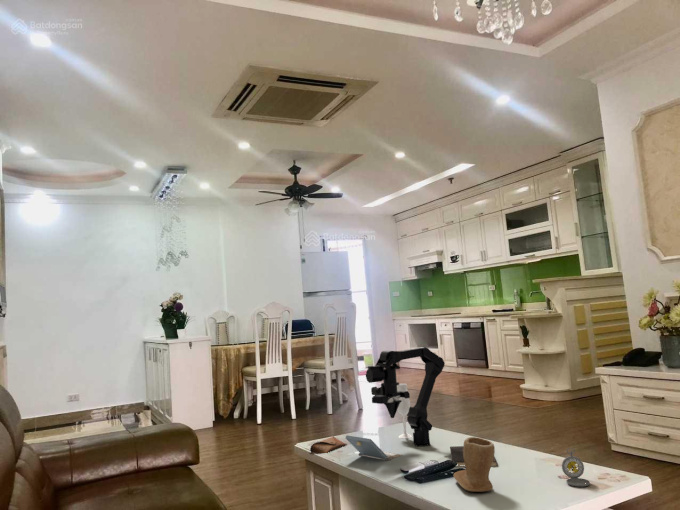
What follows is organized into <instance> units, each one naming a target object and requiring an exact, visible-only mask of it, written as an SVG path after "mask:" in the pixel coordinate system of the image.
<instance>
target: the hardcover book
mask: <svg viewBox="0 0 680 510" xmlns="http://www.w3.org/2000/svg"><path fill="white" fill-rule="evenodd" d="M463 448H464V445H463V446H462V445H461V446H456V445H455V446H450V447H449V449H450V450H449V451H450V457H451V462H452V461H454V462H457V464H458V466H457V467H461V466H460V465H465V461H464V457H463ZM493 466H494V467H498V461H497V459H496V457H495V455H494V459H493V462H492V465H491V467H493Z"/></svg>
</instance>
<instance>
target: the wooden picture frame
mask: <svg viewBox="0 0 680 510" xmlns="http://www.w3.org/2000/svg"><path fill="white" fill-rule="evenodd" d="M383 452H384V453H385V454H386V455H387V459H383V460H384V461H386V462H391V461H392V459H396V458H399V457H401V456H403V454H398V453H392V452H387V451H383ZM358 456H360V457H361V456H364V457H366V456H365V455H362V454H361V453H360V452H358ZM367 457H368V458H371V457H370V456H367ZM372 458H374V459H379V460H382V459H381V458H376V457H372Z"/></svg>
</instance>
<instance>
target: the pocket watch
mask: <svg viewBox="0 0 680 510" xmlns="http://www.w3.org/2000/svg"><path fill="white" fill-rule="evenodd" d="M569 450H570V451H569ZM575 452H576V449H575V448H572V447H571V448H570V447H568V448H567V449H566V453H568V454H569V456H566V457H565V458H564V459H563V461H562V462H561V470H562V472H563V474H564V475H565V476H566V477H568V478H567V479H566V484H568V485H570V486H572V487H579V488H582V487H588V486H590V484H591V481H590V480H588V479H585V478H580V477H581V476H582V475H583V473H584V471H585V465H584V463H583V461H582V460H581V459H580V458H579V457H578V456H574V454H575ZM585 483H586V484H585Z"/></svg>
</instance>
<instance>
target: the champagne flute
mask: <svg viewBox="0 0 680 510" xmlns="http://www.w3.org/2000/svg"><path fill="white" fill-rule="evenodd" d="M397 391H408V384H407V383H399V385H397ZM408 392H409V391H408ZM399 400H402V402H400V404H399V406H398V409H397V411H396V412H398V414H400V415H401V416H402V425H403V433H402V434H400V435H399V436H398V438H399V439H411V438H412V439H413V435H411V434H409V433H408V432H407V419H406V416H407V414H408V412H409V408H410V407H411V402H410V398H407V399H405V398H404V397H400V398H399Z"/></svg>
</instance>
